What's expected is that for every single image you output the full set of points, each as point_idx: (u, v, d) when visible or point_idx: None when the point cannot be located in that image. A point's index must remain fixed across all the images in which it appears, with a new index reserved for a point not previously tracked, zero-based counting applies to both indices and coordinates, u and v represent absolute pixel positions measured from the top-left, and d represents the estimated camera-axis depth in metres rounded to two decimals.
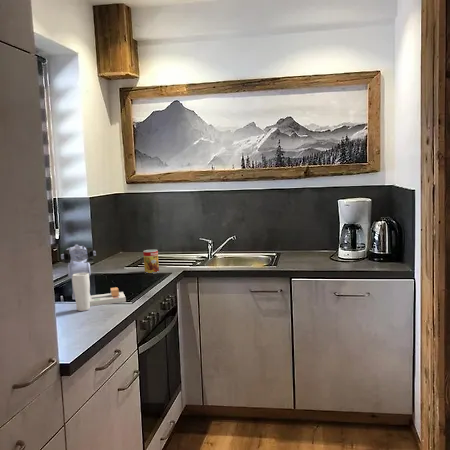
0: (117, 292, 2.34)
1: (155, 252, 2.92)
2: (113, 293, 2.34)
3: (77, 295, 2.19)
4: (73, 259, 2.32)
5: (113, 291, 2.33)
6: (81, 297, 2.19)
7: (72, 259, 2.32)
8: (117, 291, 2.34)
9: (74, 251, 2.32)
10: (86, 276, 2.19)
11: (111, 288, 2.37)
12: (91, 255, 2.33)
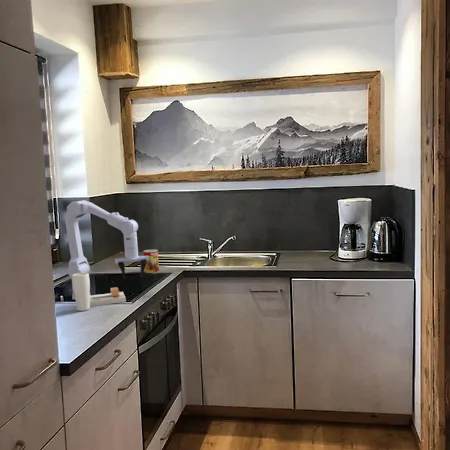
0: (117, 292, 2.34)
1: (155, 252, 2.92)
2: (113, 293, 2.34)
3: (77, 295, 2.19)
4: None
5: (113, 291, 2.33)
6: (81, 297, 2.19)
7: None
8: (117, 291, 2.34)
9: None
10: (86, 276, 2.19)
11: (111, 288, 2.37)
12: None
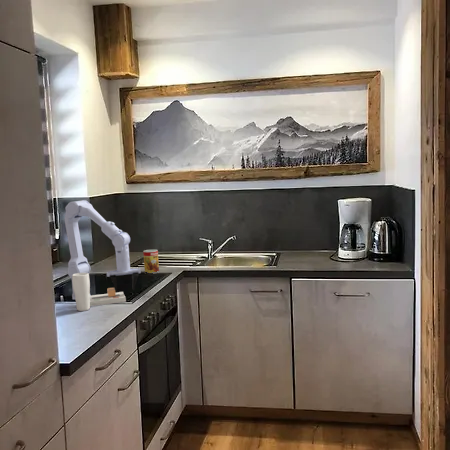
0: (114, 292, 2.34)
1: (155, 252, 2.92)
2: (110, 293, 2.33)
3: (77, 295, 2.19)
4: None
5: (110, 291, 2.33)
6: (81, 297, 2.19)
7: None
8: (114, 291, 2.34)
9: None
10: (86, 276, 2.19)
11: (108, 288, 2.37)
12: None
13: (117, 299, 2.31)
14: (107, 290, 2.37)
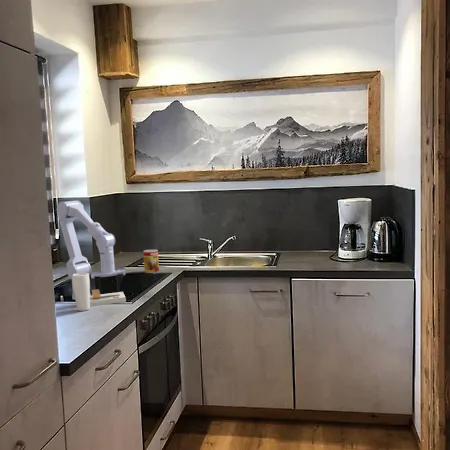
0: (98, 294, 2.32)
1: (155, 252, 2.92)
2: (94, 295, 2.31)
3: (77, 295, 2.19)
4: None
5: (94, 293, 2.31)
6: (81, 297, 2.19)
7: None
8: (98, 293, 2.32)
9: None
10: (86, 276, 2.19)
11: (92, 290, 2.35)
12: None
13: (117, 299, 2.31)
14: None
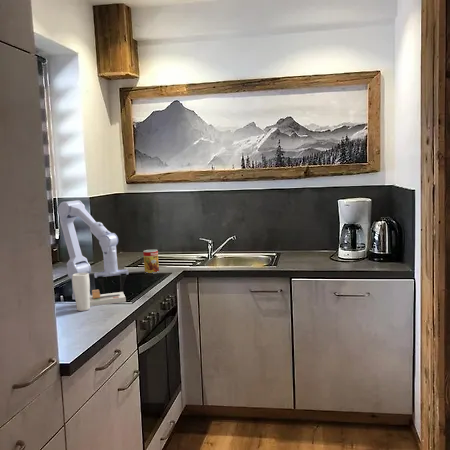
0: (98, 294, 2.32)
1: (155, 252, 2.92)
2: (94, 295, 2.31)
3: (77, 295, 2.19)
4: None
5: (94, 293, 2.31)
6: (81, 297, 2.19)
7: None
8: (98, 293, 2.32)
9: None
10: (86, 276, 2.19)
11: (92, 290, 2.35)
12: None
13: (117, 299, 2.31)
14: None
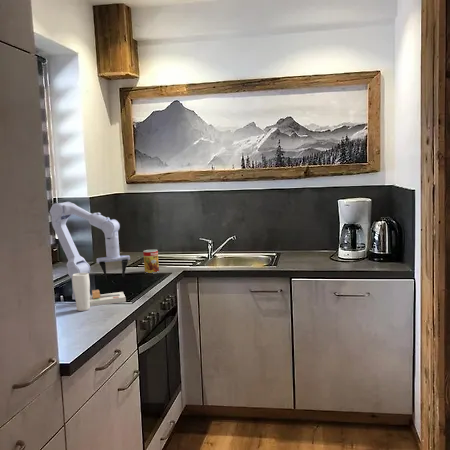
0: (98, 294, 2.32)
1: (155, 252, 2.92)
2: (94, 295, 2.31)
3: (77, 295, 2.19)
4: None
5: (94, 293, 2.31)
6: (81, 297, 2.19)
7: None
8: (98, 293, 2.32)
9: None
10: (86, 276, 2.19)
11: (92, 290, 2.35)
12: None
13: (117, 299, 2.31)
14: None
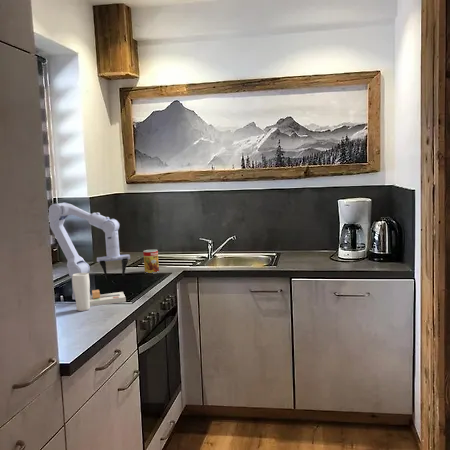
0: (98, 294, 2.32)
1: (155, 252, 2.92)
2: (94, 295, 2.31)
3: (77, 295, 2.19)
4: None
5: (94, 293, 2.31)
6: (81, 297, 2.19)
7: None
8: (98, 293, 2.32)
9: None
10: (86, 276, 2.19)
11: (92, 290, 2.35)
12: None
13: (117, 299, 2.31)
14: None
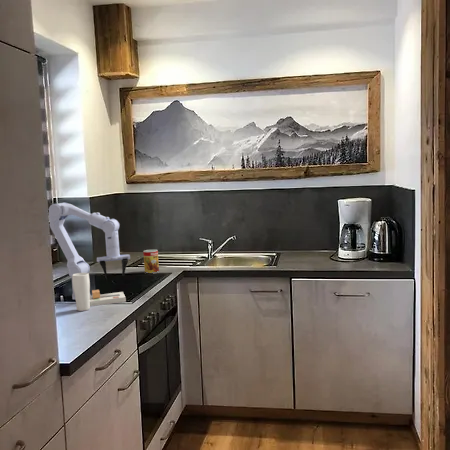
0: (98, 294, 2.32)
1: (155, 252, 2.92)
2: (94, 295, 2.31)
3: (77, 295, 2.19)
4: None
5: (94, 293, 2.31)
6: (81, 297, 2.19)
7: None
8: (98, 293, 2.32)
9: None
10: (86, 276, 2.19)
11: (92, 290, 2.35)
12: None
13: (117, 299, 2.31)
14: None
